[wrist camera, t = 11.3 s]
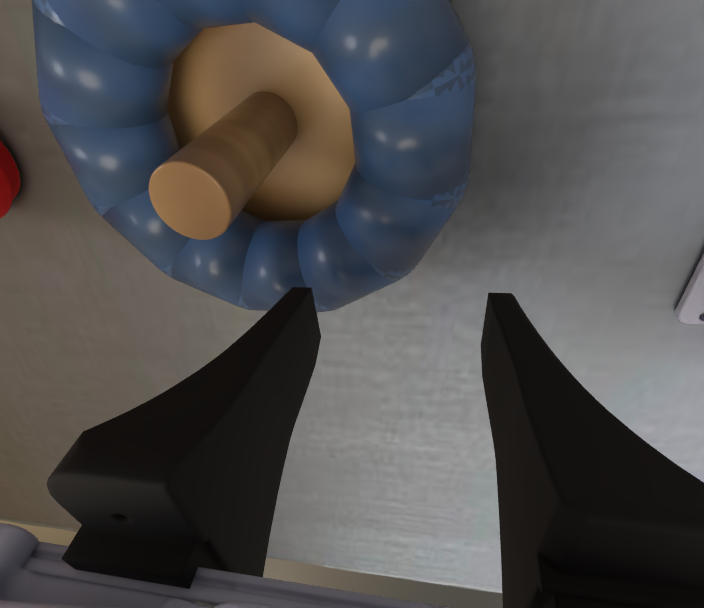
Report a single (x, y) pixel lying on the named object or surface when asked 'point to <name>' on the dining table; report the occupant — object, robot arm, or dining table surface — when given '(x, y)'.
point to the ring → (246, 230)
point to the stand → (250, 133)
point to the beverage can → (8, 179)
